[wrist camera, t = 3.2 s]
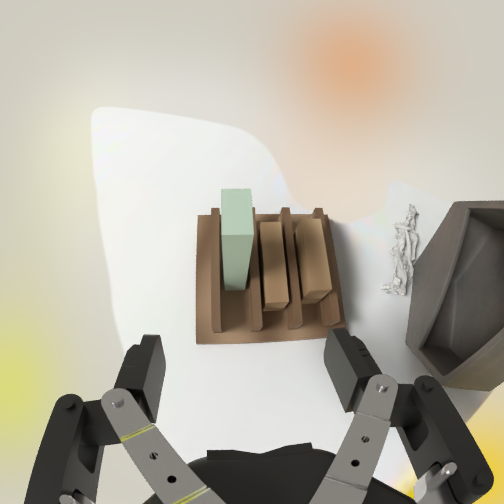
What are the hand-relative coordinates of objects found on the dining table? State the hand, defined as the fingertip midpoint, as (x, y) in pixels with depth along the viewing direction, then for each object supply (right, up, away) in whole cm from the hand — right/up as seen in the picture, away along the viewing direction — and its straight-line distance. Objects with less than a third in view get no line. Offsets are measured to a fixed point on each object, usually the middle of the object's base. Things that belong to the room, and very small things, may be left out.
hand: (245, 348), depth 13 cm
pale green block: (-1, +2, +17) cm, 17 cm away
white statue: (+19, +5, +21) cm, 29 cm away
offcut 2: (+6, +2, +17) cm, 18 cm away
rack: (+2, +2, +18) cm, 18 cm away
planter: (+23, -3, +17) cm, 29 cm away
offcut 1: (+2, +2, +17) cm, 17 cm away
